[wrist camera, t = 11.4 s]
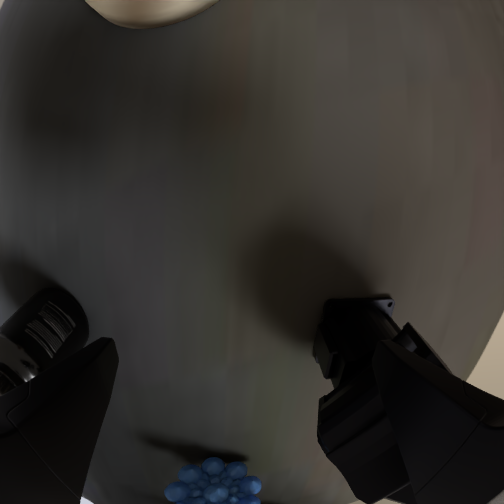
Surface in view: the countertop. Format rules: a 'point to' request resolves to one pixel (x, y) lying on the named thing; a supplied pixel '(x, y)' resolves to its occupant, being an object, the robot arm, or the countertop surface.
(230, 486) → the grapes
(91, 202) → the countertop surface
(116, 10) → the birch base
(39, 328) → the supplement bottle
